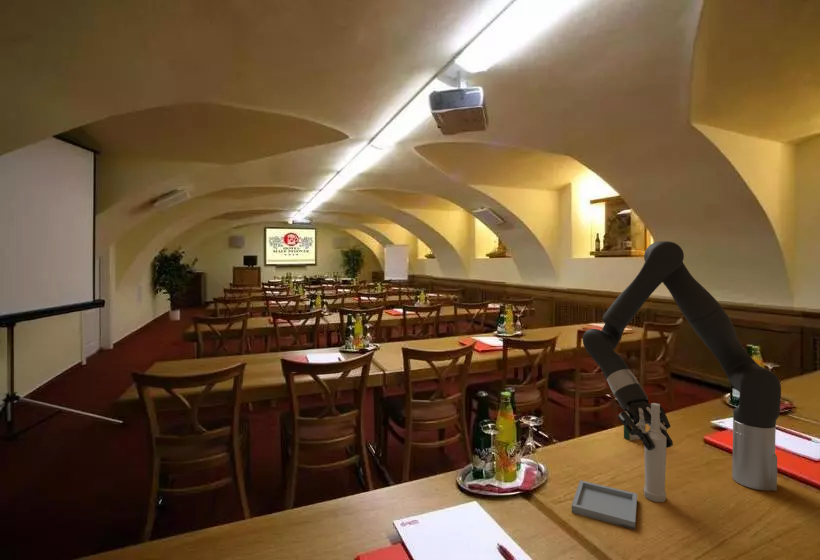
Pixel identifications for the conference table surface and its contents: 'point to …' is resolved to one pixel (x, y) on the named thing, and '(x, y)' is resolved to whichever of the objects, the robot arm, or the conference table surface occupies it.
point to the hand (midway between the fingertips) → (660, 447)
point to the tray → (605, 504)
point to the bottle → (655, 459)
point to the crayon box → (628, 435)
